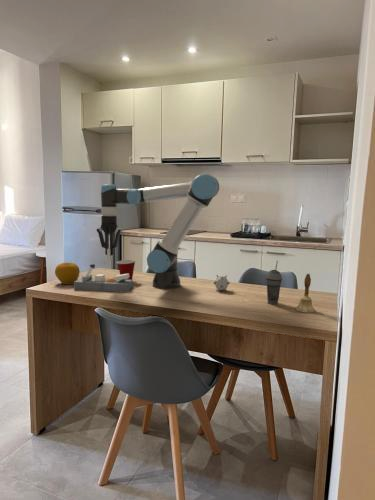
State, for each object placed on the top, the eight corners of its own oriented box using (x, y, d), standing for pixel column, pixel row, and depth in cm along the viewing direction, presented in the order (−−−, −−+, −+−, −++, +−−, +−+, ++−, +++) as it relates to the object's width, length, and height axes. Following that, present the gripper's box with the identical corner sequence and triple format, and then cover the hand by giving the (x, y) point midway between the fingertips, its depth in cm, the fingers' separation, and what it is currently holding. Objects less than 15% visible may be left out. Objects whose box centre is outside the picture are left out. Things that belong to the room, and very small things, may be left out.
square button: (104, 282, 190) (104, 274, 190) (102, 283, 187) (102, 275, 186) (97, 281, 191) (97, 274, 190) (95, 283, 187) (95, 275, 186)
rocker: (129, 276, 188) (128, 273, 188) (127, 278, 184) (126, 274, 184) (118, 278, 189) (117, 275, 189) (115, 280, 185) (114, 276, 185)
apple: (66, 287, 190) (65, 266, 188) (50, 284, 196) (49, 263, 195) (85, 282, 201) (84, 262, 199) (69, 279, 207) (68, 260, 206)
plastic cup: (119, 279, 210) (118, 258, 209) (137, 279, 210) (137, 259, 208) (114, 283, 200) (114, 262, 198) (134, 284, 199) (133, 262, 197)
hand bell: (305, 306, 162) (307, 271, 160) (319, 311, 155) (322, 275, 153) (291, 308, 158) (293, 273, 156) (305, 314, 151) (307, 276, 149)
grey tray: (132, 287, 192) (132, 275, 191) (127, 291, 182) (127, 279, 181) (82, 284, 195) (81, 273, 195) (74, 289, 186) (73, 277, 185)
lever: (90, 279, 192) (97, 264, 190) (86, 281, 187) (93, 265, 185) (86, 277, 192) (92, 262, 190) (82, 279, 187) (89, 263, 185)
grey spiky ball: (217, 297, 188) (207, 280, 191) (230, 290, 192) (220, 274, 194) (222, 293, 180) (212, 275, 182) (236, 285, 184) (225, 268, 186)
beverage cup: (269, 300, 171) (271, 258, 168) (283, 303, 167) (285, 260, 164) (261, 303, 166) (263, 260, 163) (276, 306, 161) (278, 262, 158)
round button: (115, 285, 190) (115, 277, 189) (113, 287, 186) (113, 279, 186) (108, 285, 190) (108, 277, 190) (106, 286, 187) (106, 278, 186)
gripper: (123, 215, 186) (123, 260, 189) (99, 214, 187) (99, 259, 191) (119, 216, 179) (119, 263, 182) (93, 215, 180) (94, 261, 183)
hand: (109, 261), depth 186 cm, fingers closed
